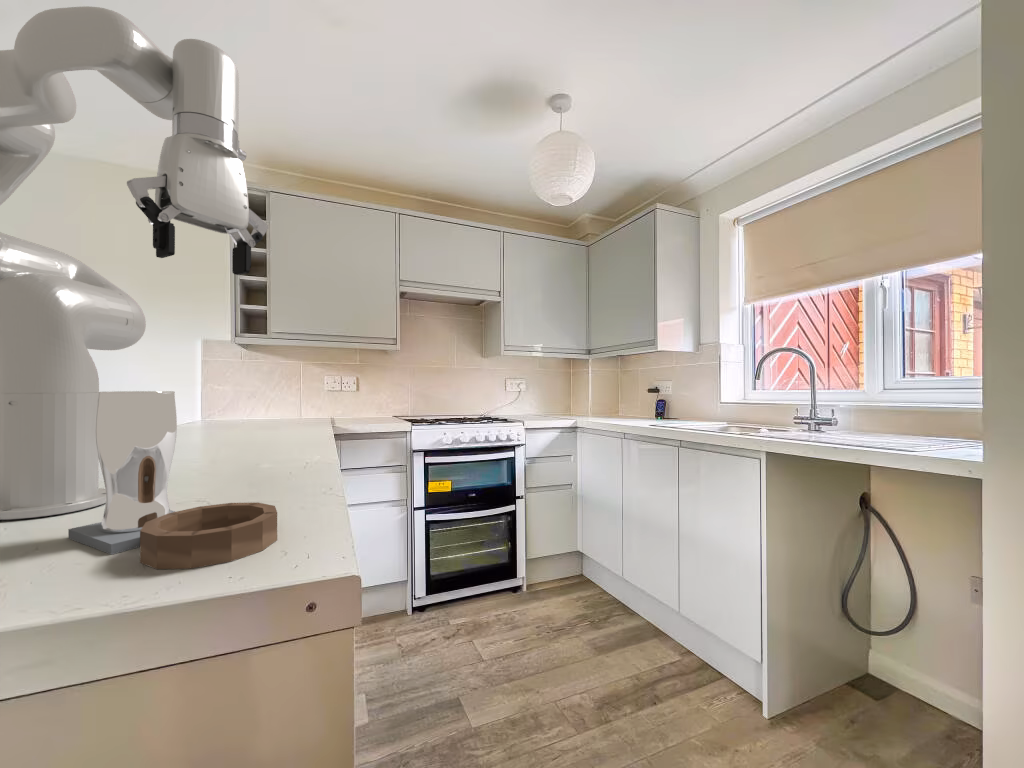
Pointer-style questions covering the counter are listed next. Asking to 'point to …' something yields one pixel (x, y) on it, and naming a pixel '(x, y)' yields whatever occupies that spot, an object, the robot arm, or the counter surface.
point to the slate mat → (105, 538)
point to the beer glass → (135, 456)
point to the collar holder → (207, 535)
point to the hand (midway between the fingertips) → (205, 265)
